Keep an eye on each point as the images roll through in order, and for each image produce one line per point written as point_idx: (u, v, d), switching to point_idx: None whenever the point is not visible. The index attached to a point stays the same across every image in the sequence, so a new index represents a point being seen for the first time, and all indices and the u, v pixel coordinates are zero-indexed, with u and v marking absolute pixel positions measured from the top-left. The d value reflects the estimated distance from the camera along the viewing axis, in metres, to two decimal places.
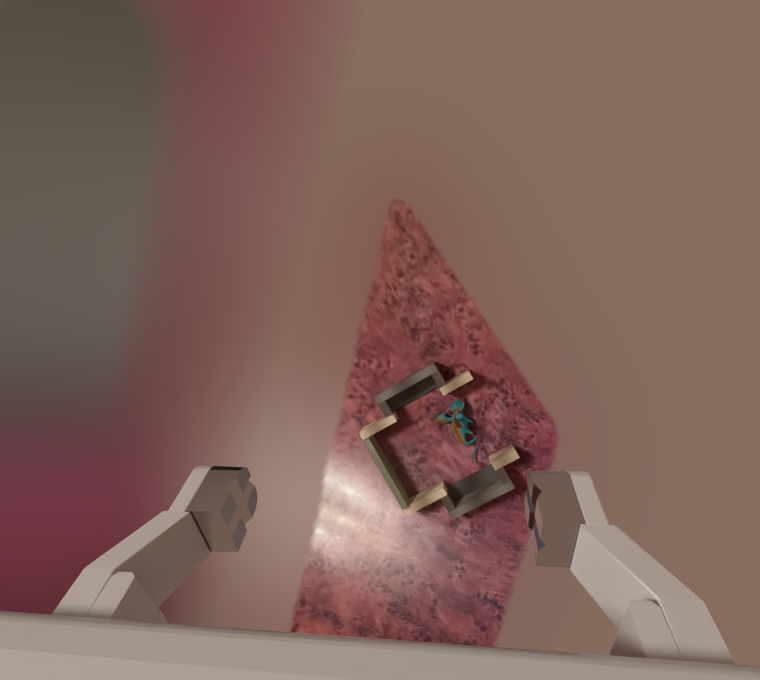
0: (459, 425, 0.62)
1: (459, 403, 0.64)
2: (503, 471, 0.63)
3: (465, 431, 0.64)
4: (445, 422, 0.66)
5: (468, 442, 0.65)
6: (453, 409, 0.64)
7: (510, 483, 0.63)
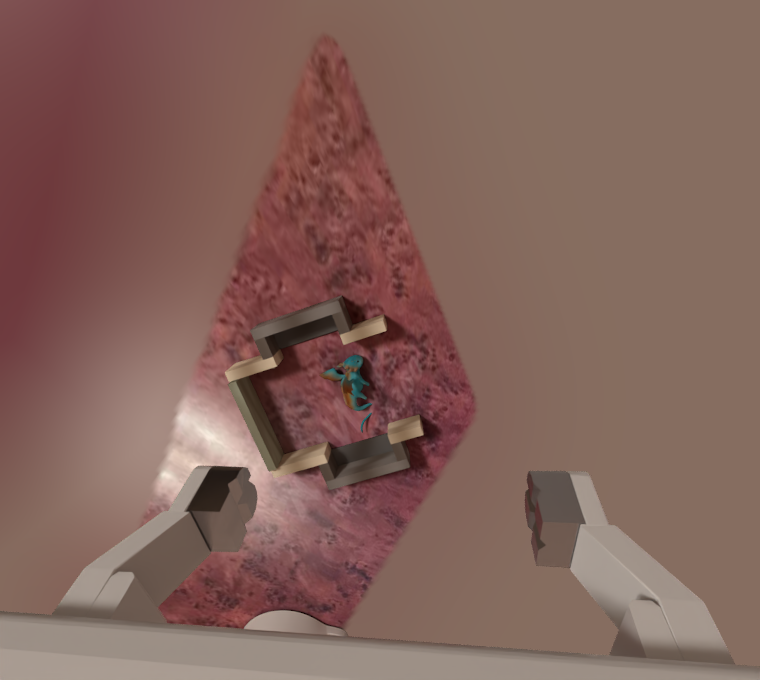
0: (349, 390, 0.48)
1: (356, 360, 0.49)
2: (400, 447, 0.50)
3: (357, 395, 0.50)
4: (335, 379, 0.51)
5: (359, 408, 0.51)
6: (346, 367, 0.49)
7: (405, 461, 0.51)
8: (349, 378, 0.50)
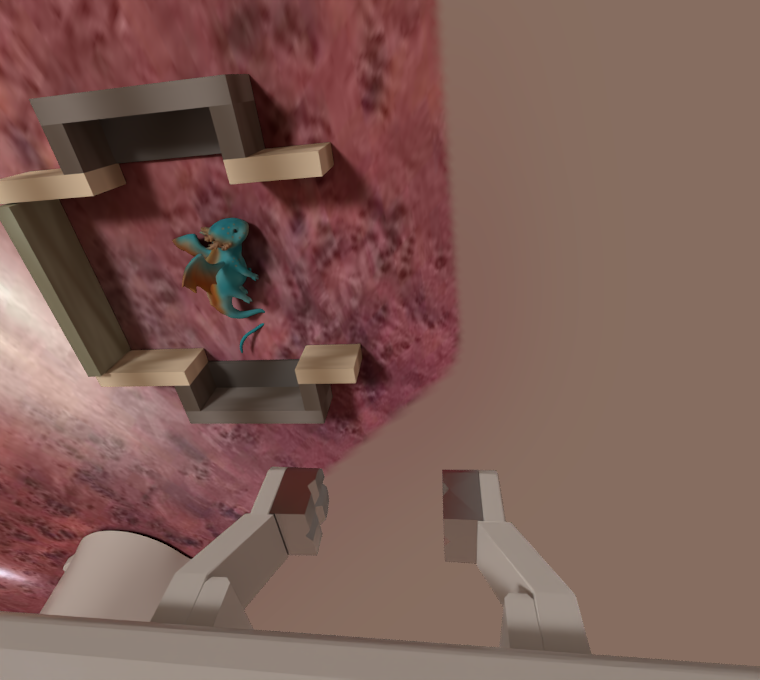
0: (206, 282, 0.25)
1: (232, 229, 0.25)
2: (313, 391, 0.29)
3: (230, 294, 0.27)
4: None
5: (237, 314, 0.29)
6: (208, 238, 0.25)
7: (318, 413, 0.31)
8: (217, 259, 0.26)
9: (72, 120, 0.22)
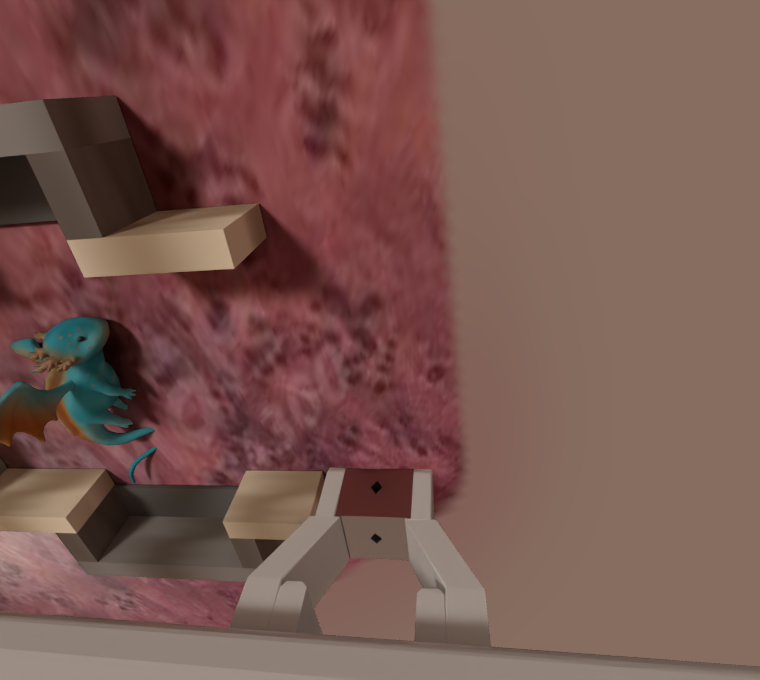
0: (34, 422, 0.16)
1: (76, 337, 0.17)
2: (252, 547, 0.20)
3: (92, 422, 0.19)
4: None
5: (114, 441, 0.20)
6: (37, 354, 0.16)
7: None
8: (64, 377, 0.18)
9: None
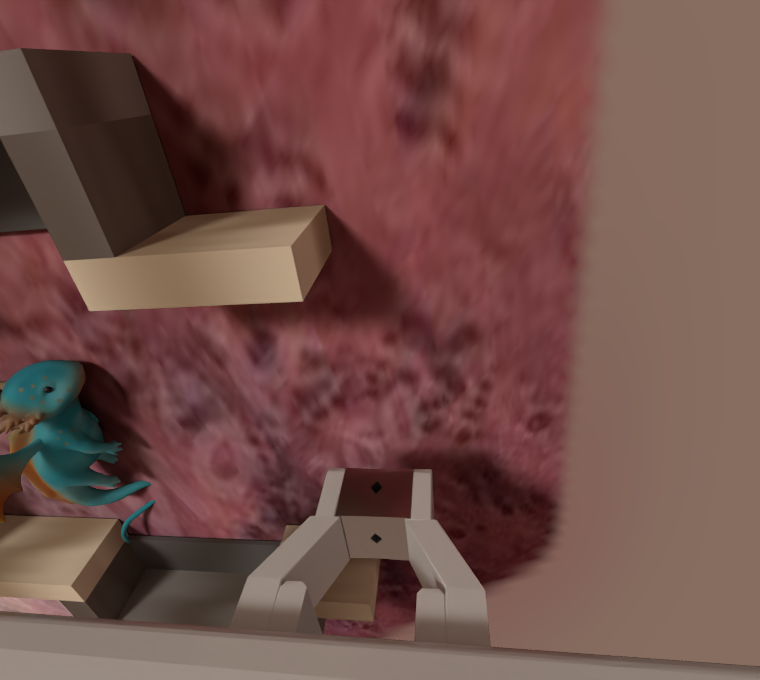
0: None
1: (41, 388, 0.13)
2: None
3: (69, 485, 0.15)
4: None
5: (100, 501, 0.17)
6: None
7: None
8: (32, 435, 0.14)
9: None
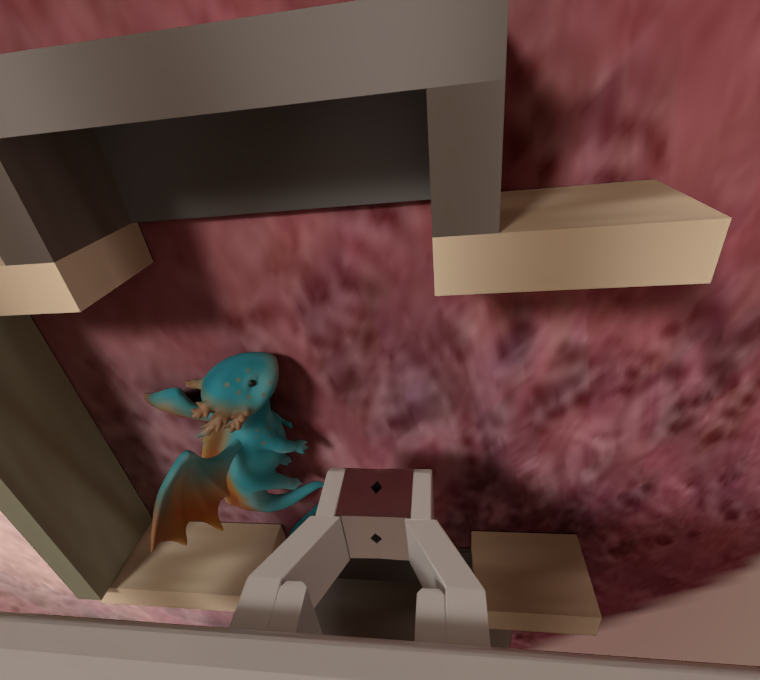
0: (207, 504, 0.12)
1: (246, 382, 0.12)
2: (504, 639, 0.15)
3: (260, 489, 0.14)
4: None
5: (277, 506, 0.16)
6: (200, 410, 0.12)
7: None
8: (227, 436, 0.13)
9: (16, 131, 0.08)
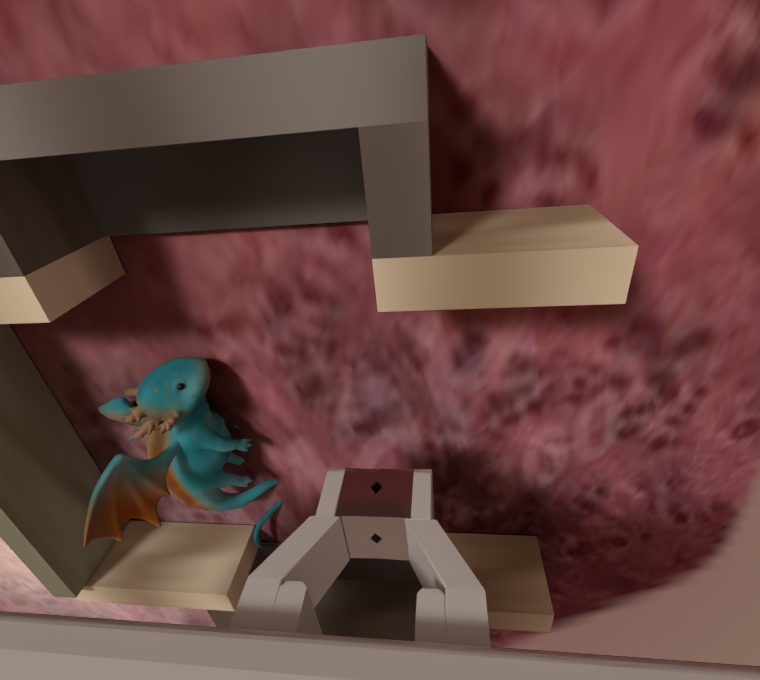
0: (144, 503, 0.13)
1: (174, 385, 0.13)
2: None
3: (207, 488, 0.15)
4: None
5: (234, 504, 0.17)
6: (132, 415, 0.13)
7: None
8: (168, 438, 0.14)
9: None
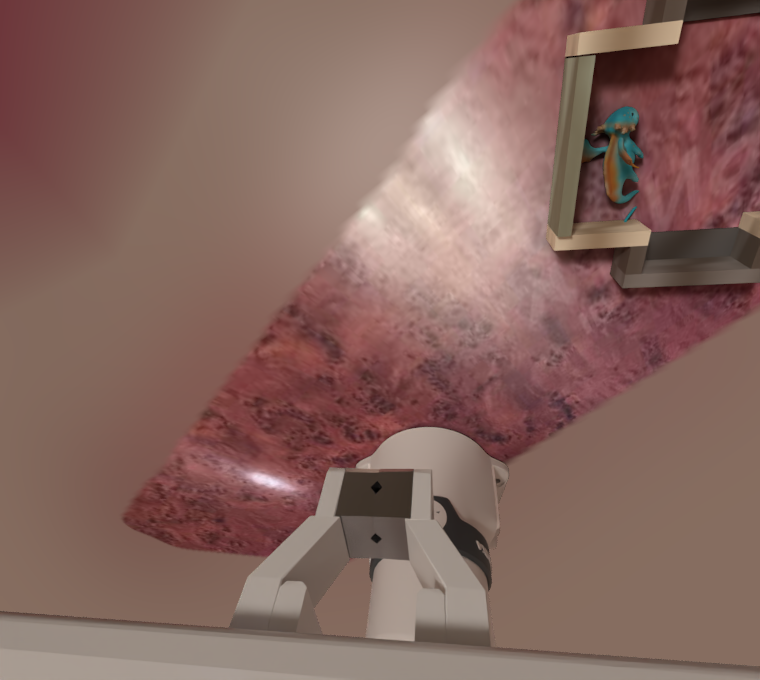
0: None
1: (631, 113, 0.30)
2: None
3: (628, 175, 0.32)
4: (584, 159, 0.33)
5: (624, 198, 0.34)
6: (617, 126, 0.30)
7: None
8: (616, 148, 0.32)
9: None
